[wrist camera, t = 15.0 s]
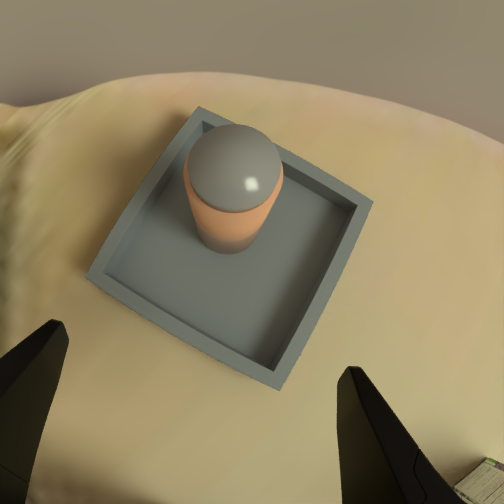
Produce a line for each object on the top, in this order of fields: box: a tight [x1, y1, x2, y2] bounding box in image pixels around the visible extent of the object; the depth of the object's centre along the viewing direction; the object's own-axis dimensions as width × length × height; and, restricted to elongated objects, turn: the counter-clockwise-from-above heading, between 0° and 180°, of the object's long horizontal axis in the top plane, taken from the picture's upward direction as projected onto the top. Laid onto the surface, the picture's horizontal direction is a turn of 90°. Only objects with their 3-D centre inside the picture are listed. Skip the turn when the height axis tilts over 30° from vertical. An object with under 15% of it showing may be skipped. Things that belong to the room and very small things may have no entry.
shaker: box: [183, 124, 283, 255], centre depth 18 cm, size 4×4×10 cm
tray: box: [85, 106, 373, 391], centre depth 22 cm, size 15×15×2 cm
